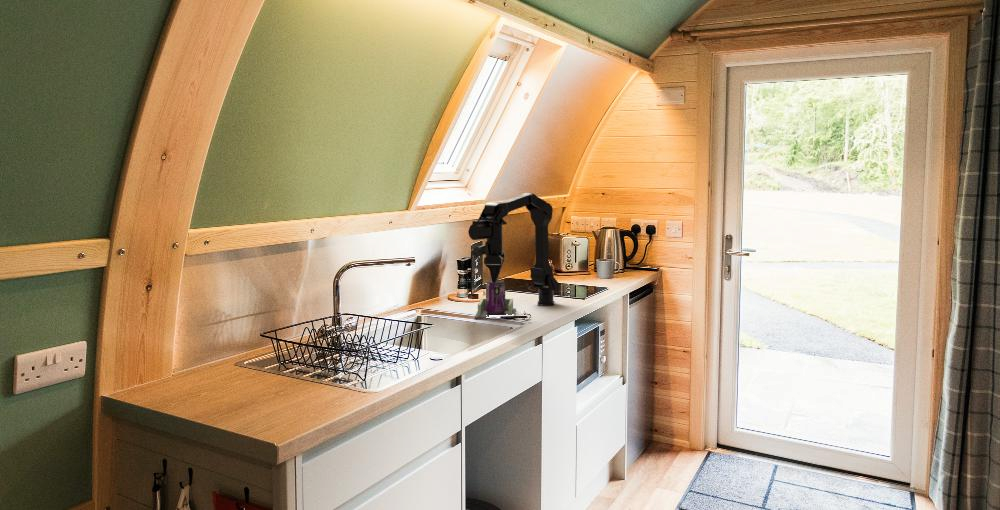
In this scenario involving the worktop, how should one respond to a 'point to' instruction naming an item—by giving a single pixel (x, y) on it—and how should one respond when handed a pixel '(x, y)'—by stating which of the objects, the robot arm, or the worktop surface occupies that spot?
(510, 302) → the chute bracket
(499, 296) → the beverage can
